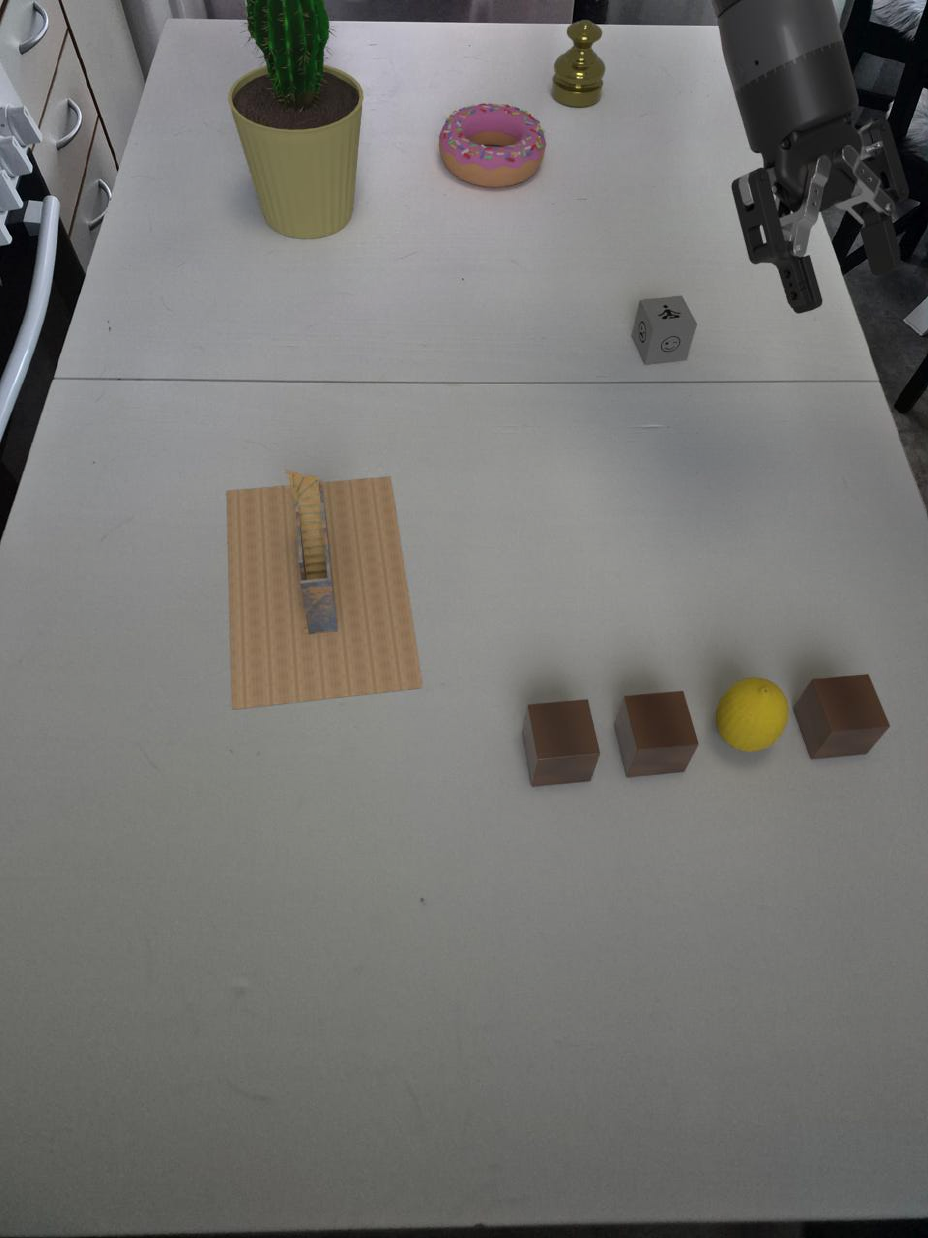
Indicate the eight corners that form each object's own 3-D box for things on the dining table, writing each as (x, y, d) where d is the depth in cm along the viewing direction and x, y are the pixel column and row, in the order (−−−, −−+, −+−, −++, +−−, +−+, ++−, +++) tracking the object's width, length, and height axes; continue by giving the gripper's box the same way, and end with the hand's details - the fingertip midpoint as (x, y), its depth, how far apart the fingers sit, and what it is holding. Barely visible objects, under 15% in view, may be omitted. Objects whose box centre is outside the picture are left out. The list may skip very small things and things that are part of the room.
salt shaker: (540, 93, 142) (548, 19, 134) (575, 77, 145) (584, 4, 137) (576, 113, 139) (586, 40, 131) (611, 97, 142) (623, 24, 134)
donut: (451, 197, 126) (453, 160, 122) (428, 139, 134) (428, 102, 130) (556, 186, 128) (561, 150, 124) (527, 129, 136) (531, 93, 132)
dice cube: (644, 364, 109) (653, 328, 105) (631, 335, 112) (639, 299, 108) (686, 359, 110) (697, 323, 106) (672, 331, 112) (682, 295, 108)
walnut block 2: (670, 717, 83) (683, 688, 79) (684, 772, 80) (699, 744, 76) (613, 723, 83) (623, 693, 79) (626, 777, 80) (637, 750, 76)
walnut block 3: (846, 701, 85) (868, 672, 81) (867, 754, 82) (890, 726, 78) (791, 706, 84) (811, 677, 80) (810, 759, 81) (831, 732, 77)
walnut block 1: (579, 726, 82) (587, 697, 78) (590, 781, 79) (600, 754, 75) (521, 731, 82) (527, 702, 78) (531, 787, 79) (537, 760, 75)
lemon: (711, 701, 84) (736, 652, 78) (774, 720, 83) (805, 672, 77) (700, 755, 81) (725, 709, 75) (765, 775, 80) (797, 730, 74)
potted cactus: (381, 186, 127) (371, -79, 102) (352, 256, 118) (335, -15, 93) (267, 170, 128) (230, -96, 103) (231, 239, 119) (181, -34, 94)
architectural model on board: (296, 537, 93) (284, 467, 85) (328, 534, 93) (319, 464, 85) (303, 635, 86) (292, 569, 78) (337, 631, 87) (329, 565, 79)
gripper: (751, 66, 61) (822, 313, 66) (898, 13, 66) (955, 247, 71) (676, 111, 68) (745, 333, 72) (815, 61, 73) (872, 271, 77)
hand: (849, 290), depth 71 cm, fingers open, 8 cm apart
